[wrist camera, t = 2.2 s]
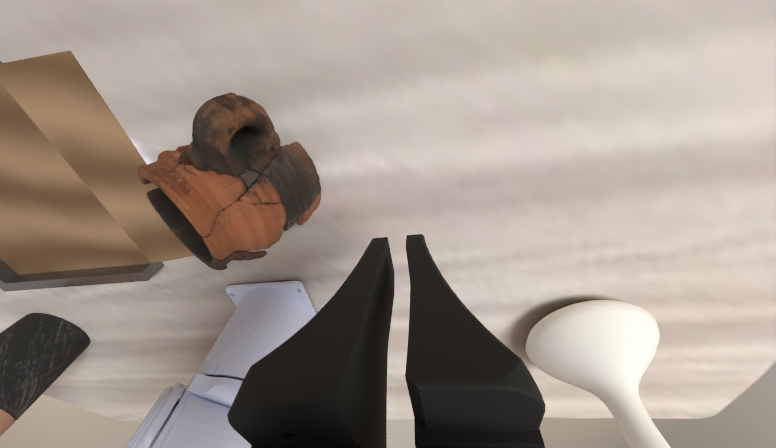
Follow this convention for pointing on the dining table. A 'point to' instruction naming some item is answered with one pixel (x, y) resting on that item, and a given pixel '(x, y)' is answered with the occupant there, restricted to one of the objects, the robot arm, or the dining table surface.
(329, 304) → the robot arm
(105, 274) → the curbs
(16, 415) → the travel mug
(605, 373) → the flower in vase
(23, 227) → the brown flat board
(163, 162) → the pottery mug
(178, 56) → the dining table surface
